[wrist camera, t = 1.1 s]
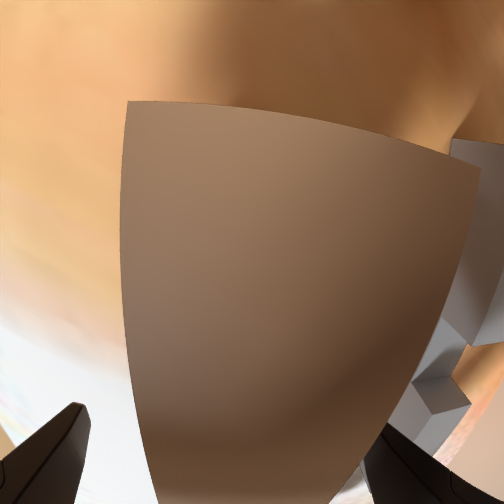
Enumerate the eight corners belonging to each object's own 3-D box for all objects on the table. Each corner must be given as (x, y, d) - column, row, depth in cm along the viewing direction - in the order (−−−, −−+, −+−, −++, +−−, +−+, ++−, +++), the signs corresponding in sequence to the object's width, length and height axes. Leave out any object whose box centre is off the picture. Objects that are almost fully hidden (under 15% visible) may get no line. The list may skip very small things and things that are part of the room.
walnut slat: (240, 427, 17) (254, 577, 8) (190, 424, 17) (185, 575, 7) (285, 141, 12) (481, 168, 2) (207, 132, 11) (128, 101, 2)
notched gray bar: (384, 433, 19) (408, 483, 14) (349, 438, 19) (370, 493, 14) (488, 154, 12) (560, 170, 8) (451, 138, 12) (529, 149, 7)
